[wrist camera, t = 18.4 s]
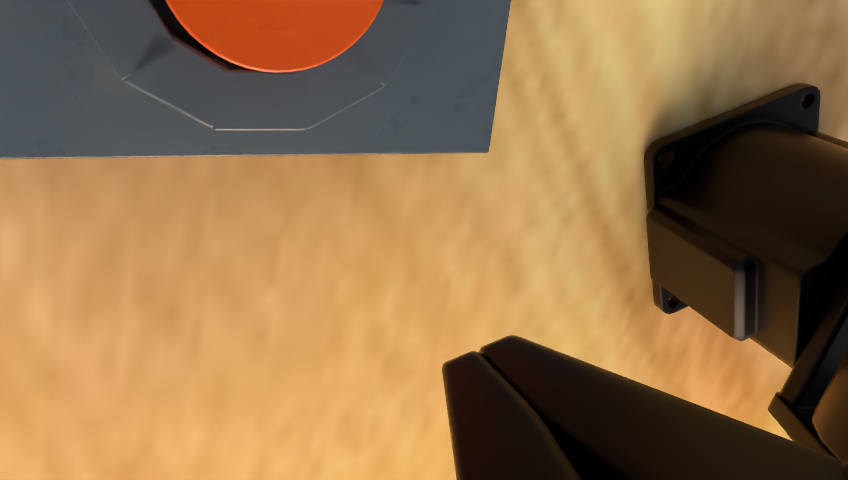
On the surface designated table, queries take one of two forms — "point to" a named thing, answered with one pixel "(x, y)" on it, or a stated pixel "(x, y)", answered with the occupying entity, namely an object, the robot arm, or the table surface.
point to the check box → (243, 85)
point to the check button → (276, 29)
